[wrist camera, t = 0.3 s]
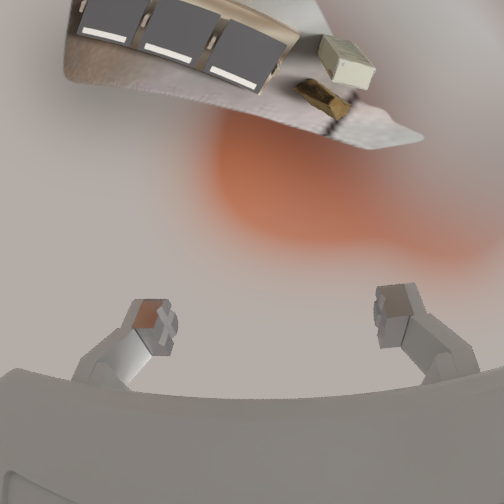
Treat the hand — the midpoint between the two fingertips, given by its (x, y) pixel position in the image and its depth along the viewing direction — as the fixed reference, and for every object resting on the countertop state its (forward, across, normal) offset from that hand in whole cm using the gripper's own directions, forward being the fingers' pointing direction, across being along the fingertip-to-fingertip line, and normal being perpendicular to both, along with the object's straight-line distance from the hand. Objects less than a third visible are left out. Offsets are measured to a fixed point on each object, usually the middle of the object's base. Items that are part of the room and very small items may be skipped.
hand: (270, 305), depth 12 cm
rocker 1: (+40, +23, -20) cm, 51 cm away
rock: (+55, -8, +3) cm, 56 cm away
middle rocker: (+43, +14, -14) cm, 47 cm away
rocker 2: (+45, +5, -7) cm, 46 cm away
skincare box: (+52, -11, -7) cm, 54 cm away
